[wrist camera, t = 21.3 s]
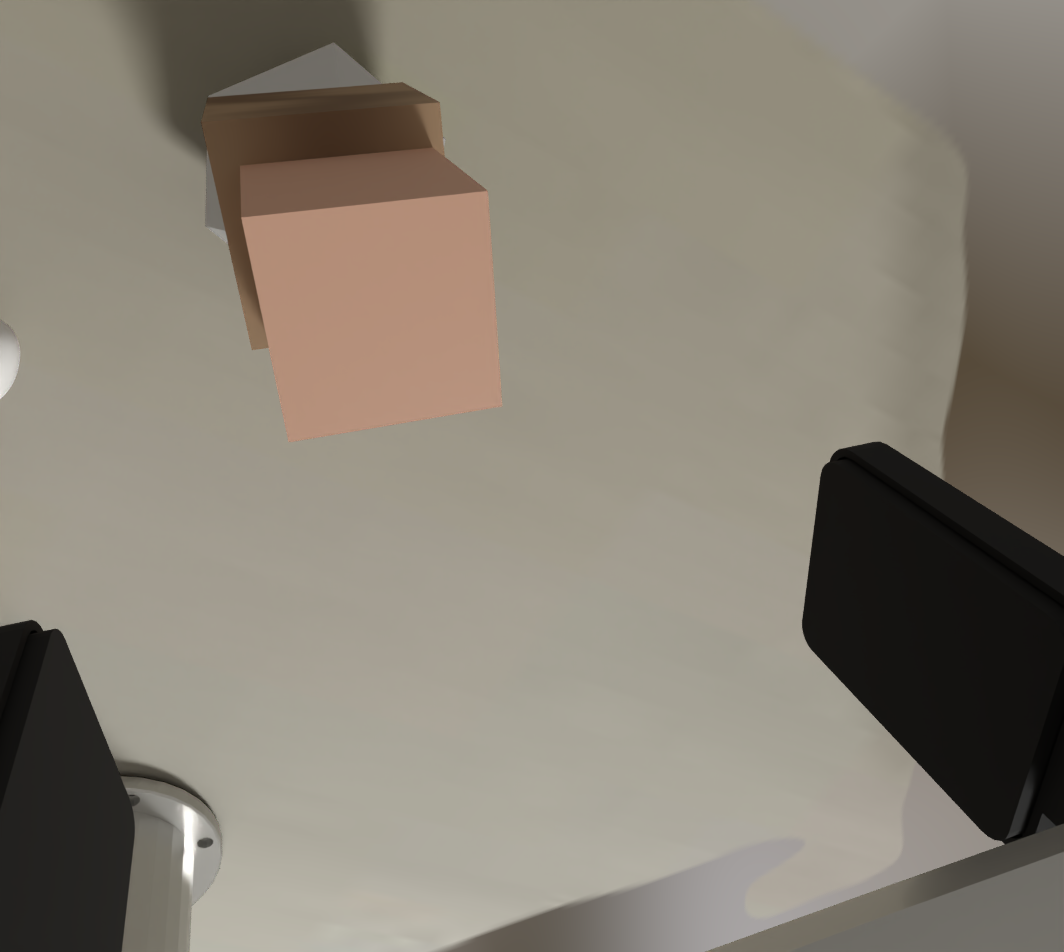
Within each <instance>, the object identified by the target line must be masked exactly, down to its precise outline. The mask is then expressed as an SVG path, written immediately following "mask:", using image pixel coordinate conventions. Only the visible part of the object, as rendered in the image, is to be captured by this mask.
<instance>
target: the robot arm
mask: <svg viewBox="0 0 1064 952" xmlns="http://www.w3.org/2000/svg"><path fill="white" fill-rule="evenodd" d="M802 629H803V634H804V637H805V640H806V642H807V644H808V646H809V647H810V648H811V650H812V651H813V652H814V653H815V654H816V655H817V656H818V657H819V658H820V659H821V660H822V662H823V663H824V664H825V665H826V666H827V667H828V668H829V669H830V670H831V671H832V672H833V673H834V674H835V675H836V676H837V677H838V679H839V680H840V681H841V682H842V683H843V684H844V685H845V686H846V687H847V688H848V689H849V690H850V691H851V692H852V693H853V695H854V696H855V697H856V698H857V699H858V700H859V701H860V702H861V703H862V704H863V705H864V706H865V707H866V708H867V709H868V710H869V712H870V713H871V714H872V715H873V716H874V717H875V718H876V719H877V720H878V721H879V722H880V723H881V724H882V725H883V726H884V727H885V729H886V730H887V731H888V732H889V733H890V734H891V735H892V736H893V737H894V738H895V739H896V740H897V741H898V742H899V743H900V745H901V746H902V747H903V748H904V749H905V750H906V751H907V752H908V753H909V754H910V755H911V756H912V757H913V758H914V759H915V760H916V762H917V763H918V764H919V765H920V766H922V768H923V769H924V770H925V771H926V772H927V773H928V774H929V775H930V776H931V777H932V779H934V781H935V782H936V783H937V784H938V785H939V786H940V787H941V788H942V789H943V790H944V791H945V792H946V793H947V795H948V796H949V797H951V799H952V800H953V801H954V802H955V803H956V804H957V805H958V806H959V807H960V808H961V809H962V810H963V811H964V813H965V814H966V815H967V816H968V817H969V818H970V819H971V820H972V821H973V822H974V823H975V824H976V825H977V826H978V827H979V829H980V830H981V831H982V832H984V833H985V834H986V835H987V836H988V837H990V838H992V839H994V840H999V841H1002V842H1003V843H1004V844H1005V845H1002V846H999V847H996V848H994V849H991V850H988V851H985V852H982V853H980V854H977V855H974V856H971V857H968V858H965V859H963V860H960V861H957V862H954V863H951V864H949V865H946V866H943V867H940V868H937V869H934V870H932V871H929V872H926V873H923V874H920V875H917V876H915V877H912V878H909V879H906V880H903V881H901V882H898V883H895V884H892V885H889V886H886V887H884V888H881V889H878V890H876V891H873V892H870V893H867V894H864V895H861V896H859V897H856V898H853V899H850V900H848V901H845V902H842V903H839V904H837V905H834V906H831V907H828V908H826V909H823V910H820V911H817V912H814V913H812V914H809V915H806V916H803V917H800V918H798V919H795V920H792V921H789V922H787V923H784V924H781V925H778V926H775V927H773V928H770V929H767V930H764V931H762V932H759V933H756V934H753V935H750V936H748V937H745V938H742V939H739V940H737V941H734V942H731V943H729V944H725V945H723V946H720V947H717V948H714V949H712V950H709V951H706V952H1064V556H1062V555H1060V554H1059V553H1058V552H1056V551H1054V550H1053V549H1051V548H1050V547H1048V546H1046V545H1045V544H1043V543H1042V542H1040V541H1038V540H1037V539H1035V538H1034V537H1032V536H1030V535H1029V534H1027V533H1026V532H1024V531H1023V530H1021V529H1019V528H1018V527H1016V526H1015V525H1013V524H1012V523H1010V522H1008V521H1007V520H1005V519H1004V518H1002V517H1000V516H999V515H997V514H996V513H994V512H993V511H991V510H989V509H988V508H986V507H985V506H983V505H982V504H980V503H978V502H977V501H975V500H974V499H972V498H970V497H969V496H967V495H966V494H964V493H963V492H961V491H959V490H958V489H956V488H955V487H953V486H952V485H950V484H948V483H947V482H945V481H944V480H942V479H940V478H939V477H937V476H936V475H934V474H933V473H931V472H929V471H928V470H926V469H925V468H923V467H921V466H920V465H918V464H917V463H915V462H914V461H912V460H910V459H909V458H907V457H906V456H904V455H903V454H901V453H899V452H898V451H896V450H895V449H893V448H891V447H890V446H888V445H887V444H884V443H882V442H871V443H867V444H862V445H857V446H852V447H848V448H843V449H839V450H838V451H836V452H834V454H833V456H832V457H831V459H830V462H829V463H827V464H826V465H825V466H824V467H823V469H822V472H821V477H820V485H819V493H818V501H817V509H816V517H815V525H814V532H813V540H812V548H811V556H810V564H809V572H808V580H807V588H806V596H805V603H804V611H803V619H802ZM221 859H222V834H221V830H220V827H219V823H218V821H217V820H216V818H215V816H214V815H213V813H212V812H211V810H210V809H209V808H208V807H207V806H206V805H205V804H204V803H202V802H201V801H200V800H199V799H198V798H196V797H195V796H193V795H191V794H190V793H188V792H186V791H185V790H183V789H180V788H178V787H175V786H173V785H170V784H167V783H165V782H160V781H156V780H151V779H146V778H139V777H126V776H120V774H119V771H118V769H117V766H116V764H115V761H114V759H113V756H112V754H111V751H110V749H109V747H108V744H107V742H106V739H105V737H104V734H103V732H102V729H101V727H100V724H99V722H98V719H97V717H96V714H95V712H94V709H93V707H92V705H91V702H90V700H89V697H88V695H87V692H86V690H85V687H84V685H83V682H82V680H81V677H80V675H79V672H78V670H77V667H76V665H75V663H74V660H73V658H72V655H71V653H70V650H69V648H68V645H67V643H66V640H65V638H64V636H63V634H62V633H61V632H60V631H59V630H58V629H52V630H47V631H43V630H42V628H41V626H40V625H39V624H38V623H37V622H36V621H33V620H29V621H24V622H20V623H15V624H10V625H5V626H1V627H0V952H190V931H191V910H192V905H194V904H195V903H196V902H197V901H198V900H199V899H200V898H201V897H202V896H203V895H204V894H205V893H206V891H207V890H208V889H209V888H210V886H211V885H212V884H213V882H214V880H215V878H216V876H217V874H218V871H219V869H220V865H221Z"/></svg>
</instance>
